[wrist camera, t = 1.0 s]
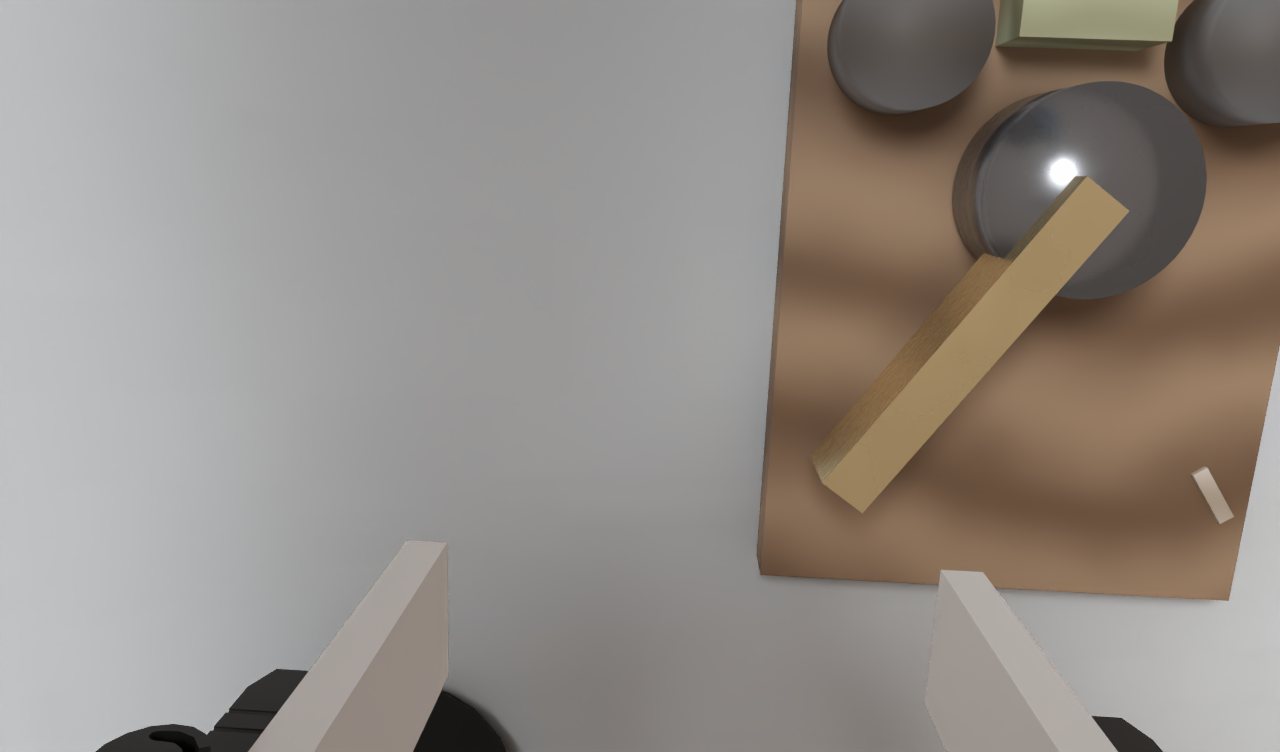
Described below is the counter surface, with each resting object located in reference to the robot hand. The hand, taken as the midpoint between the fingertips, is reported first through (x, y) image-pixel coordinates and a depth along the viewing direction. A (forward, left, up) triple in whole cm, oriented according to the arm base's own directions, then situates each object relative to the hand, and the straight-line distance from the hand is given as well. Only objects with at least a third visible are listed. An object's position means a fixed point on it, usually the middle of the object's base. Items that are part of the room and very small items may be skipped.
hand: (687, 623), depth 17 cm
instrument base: (-4, +13, -21) cm, 25 cm away
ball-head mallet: (-4, +10, -19) cm, 22 cm away
